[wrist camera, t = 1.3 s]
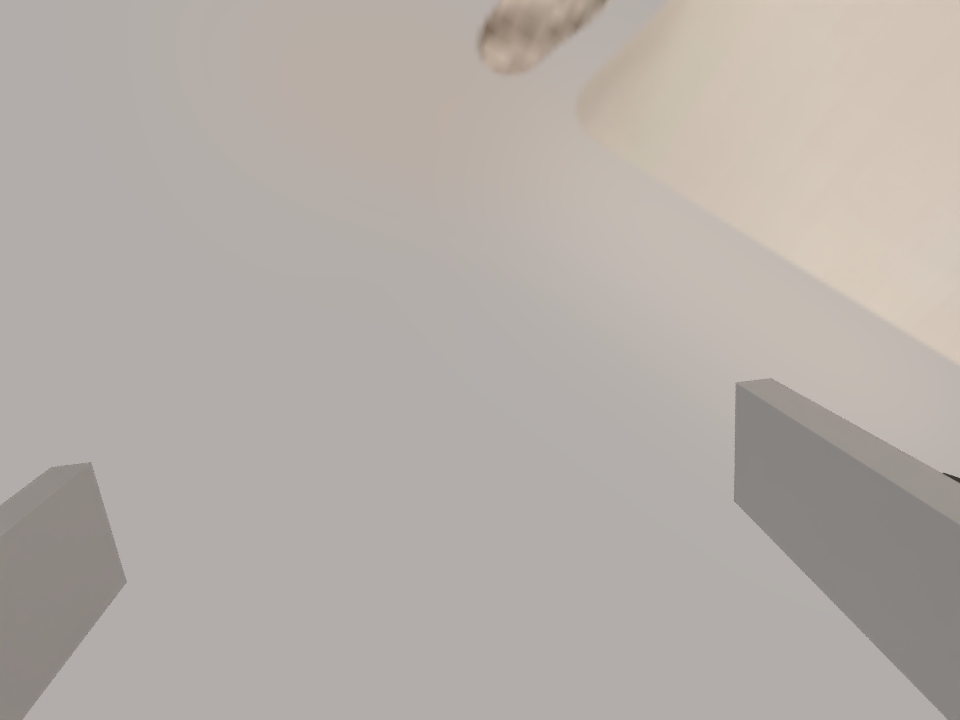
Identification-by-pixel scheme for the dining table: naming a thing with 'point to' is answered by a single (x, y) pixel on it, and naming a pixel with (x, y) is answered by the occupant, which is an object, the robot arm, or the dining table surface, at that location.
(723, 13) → the dining table surface
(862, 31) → the dining table surface
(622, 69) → the dining table surface
